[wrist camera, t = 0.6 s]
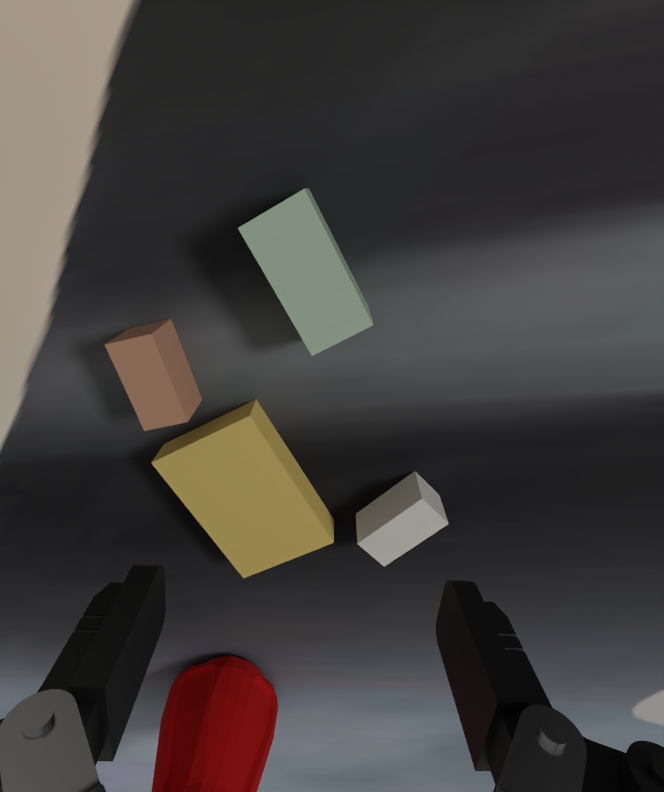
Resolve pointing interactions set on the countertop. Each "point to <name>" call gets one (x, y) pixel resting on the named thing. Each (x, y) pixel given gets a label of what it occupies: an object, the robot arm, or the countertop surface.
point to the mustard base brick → (246, 490)
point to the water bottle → (216, 728)
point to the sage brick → (307, 272)
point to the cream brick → (400, 519)
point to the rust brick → (155, 374)
